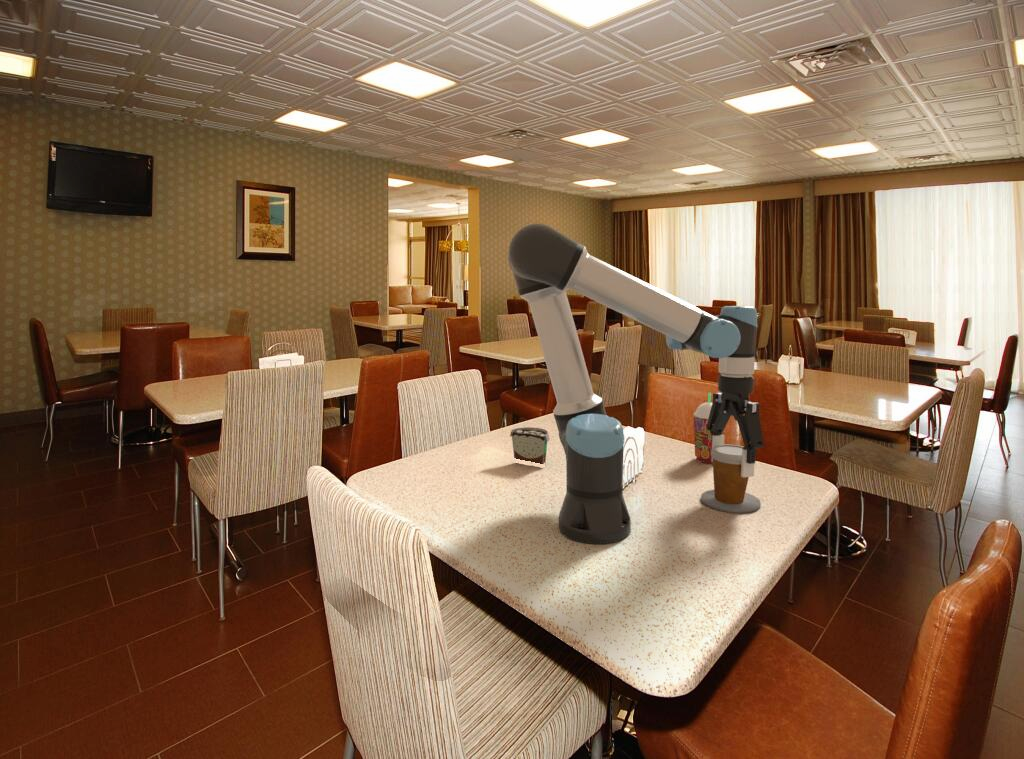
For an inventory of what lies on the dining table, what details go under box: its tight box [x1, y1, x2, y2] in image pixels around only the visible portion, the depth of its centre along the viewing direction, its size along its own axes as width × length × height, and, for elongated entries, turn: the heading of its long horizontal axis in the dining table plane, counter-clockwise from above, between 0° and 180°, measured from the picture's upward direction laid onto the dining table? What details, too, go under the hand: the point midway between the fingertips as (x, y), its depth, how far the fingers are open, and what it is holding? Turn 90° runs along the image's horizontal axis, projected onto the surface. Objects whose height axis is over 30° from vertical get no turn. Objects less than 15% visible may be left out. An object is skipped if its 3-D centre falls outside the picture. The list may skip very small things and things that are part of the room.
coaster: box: [700, 489, 761, 514], centre depth 131 cm, size 13×13×1 cm
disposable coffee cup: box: [711, 443, 750, 504], centre depth 129 cm, size 10×10×12 cm
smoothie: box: [693, 392, 723, 464], centre depth 161 cm, size 8×8×20 cm
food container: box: [509, 426, 551, 464], centre depth 162 cm, size 12×6×10 cm, turn 58°
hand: (731, 468), depth 130 cm, fingers open, 11 cm apart
